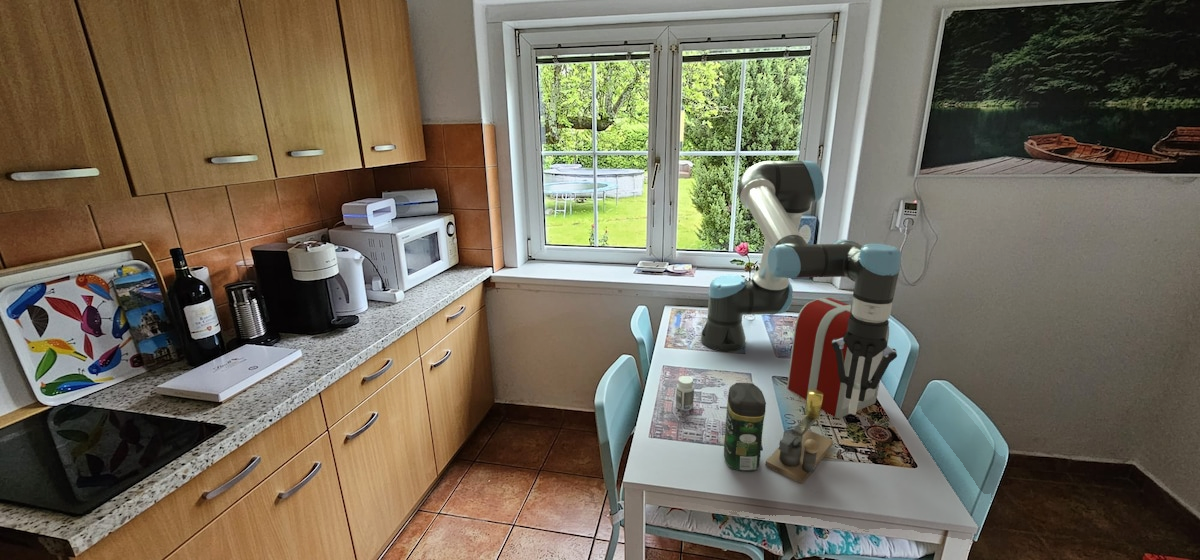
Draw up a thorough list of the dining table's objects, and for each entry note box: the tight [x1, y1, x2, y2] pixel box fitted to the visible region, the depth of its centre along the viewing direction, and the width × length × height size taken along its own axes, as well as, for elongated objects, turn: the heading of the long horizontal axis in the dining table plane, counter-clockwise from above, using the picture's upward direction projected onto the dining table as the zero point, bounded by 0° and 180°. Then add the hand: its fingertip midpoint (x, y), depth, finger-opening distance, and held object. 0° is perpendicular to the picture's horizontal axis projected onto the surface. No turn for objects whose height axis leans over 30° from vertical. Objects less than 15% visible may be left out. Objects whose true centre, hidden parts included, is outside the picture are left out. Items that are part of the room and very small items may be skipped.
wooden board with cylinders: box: [764, 429, 834, 485], centre depth 114 cm, size 10×18×9 cm, turn 136°
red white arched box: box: [786, 297, 890, 419], centre depth 135 cm, size 17×18×27 cm
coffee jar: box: [723, 382, 767, 472], centre depth 111 cm, size 10×8×19 cm
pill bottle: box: [675, 375, 695, 411], centre depth 133 cm, size 5×5×8 cm
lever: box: [778, 390, 823, 454], centre depth 112 cm, size 4×17×8 cm, turn 136°
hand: (852, 410), depth 112 cm, fingers closed
